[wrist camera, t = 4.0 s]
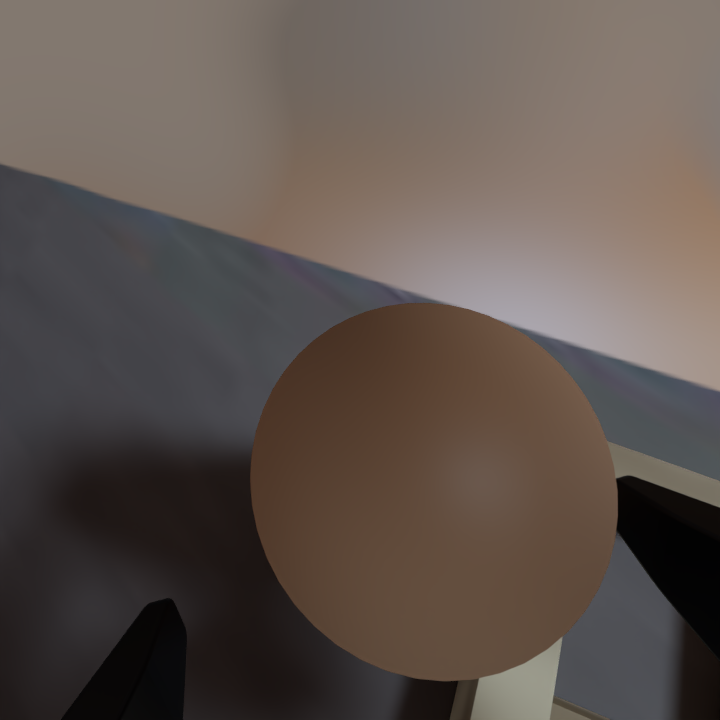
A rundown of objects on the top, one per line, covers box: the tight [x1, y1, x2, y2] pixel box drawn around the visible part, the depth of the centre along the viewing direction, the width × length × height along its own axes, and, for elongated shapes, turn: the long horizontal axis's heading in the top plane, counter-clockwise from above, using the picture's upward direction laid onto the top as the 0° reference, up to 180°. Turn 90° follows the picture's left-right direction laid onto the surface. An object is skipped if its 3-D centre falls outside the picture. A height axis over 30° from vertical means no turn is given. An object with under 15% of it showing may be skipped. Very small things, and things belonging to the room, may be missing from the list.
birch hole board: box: [450, 441, 720, 720], centre depth 15 cm, size 11×11×2 cm
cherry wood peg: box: [250, 303, 618, 681], centre depth 11 cm, size 5×5×12 cm
